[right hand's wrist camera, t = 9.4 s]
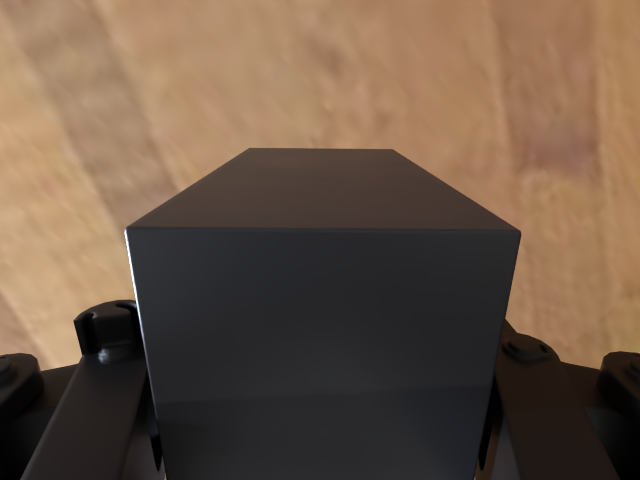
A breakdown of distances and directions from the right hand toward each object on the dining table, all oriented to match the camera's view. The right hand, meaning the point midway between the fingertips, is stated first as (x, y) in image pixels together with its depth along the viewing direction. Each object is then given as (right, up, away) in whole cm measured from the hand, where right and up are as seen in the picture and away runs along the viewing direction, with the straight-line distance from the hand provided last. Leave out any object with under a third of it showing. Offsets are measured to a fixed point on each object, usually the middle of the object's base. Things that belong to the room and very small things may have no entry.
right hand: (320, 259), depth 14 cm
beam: (0, -10, +4) cm, 11 cm away
